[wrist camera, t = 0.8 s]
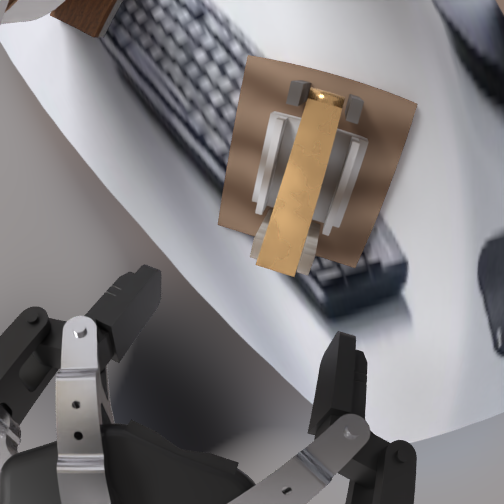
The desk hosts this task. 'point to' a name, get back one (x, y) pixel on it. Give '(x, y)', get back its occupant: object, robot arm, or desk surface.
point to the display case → (63, 13)
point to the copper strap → (301, 183)
